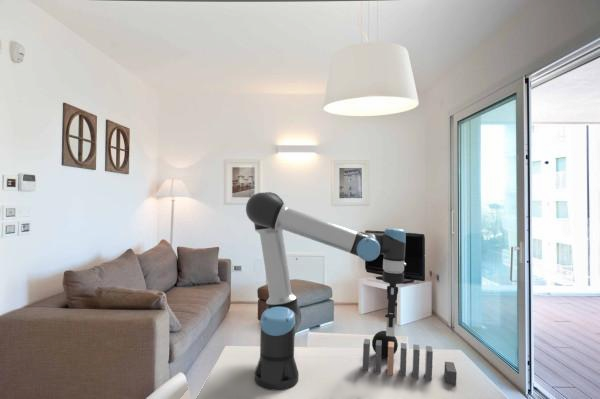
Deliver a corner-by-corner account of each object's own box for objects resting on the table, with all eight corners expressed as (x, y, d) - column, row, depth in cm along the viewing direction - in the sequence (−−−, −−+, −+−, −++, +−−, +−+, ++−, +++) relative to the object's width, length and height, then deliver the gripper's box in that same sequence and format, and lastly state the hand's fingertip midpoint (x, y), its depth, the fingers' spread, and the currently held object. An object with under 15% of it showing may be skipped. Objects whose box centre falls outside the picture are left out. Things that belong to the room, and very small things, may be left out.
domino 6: (425, 379, 138) (426, 351, 138) (425, 373, 143) (425, 345, 143) (431, 380, 138) (432, 351, 138) (430, 373, 143) (431, 346, 143)
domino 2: (374, 372, 143) (375, 345, 143) (375, 366, 148) (376, 340, 147) (380, 373, 142) (381, 345, 142) (381, 367, 147) (382, 340, 147)
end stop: (446, 384, 135) (447, 371, 135) (444, 373, 143) (444, 361, 143) (456, 385, 135) (456, 372, 135) (453, 374, 142) (453, 362, 142)
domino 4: (400, 375, 141) (400, 348, 140) (400, 369, 146) (400, 342, 145) (405, 376, 140) (406, 348, 140) (405, 370, 145) (406, 343, 145)
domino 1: (362, 370, 144) (363, 343, 144) (363, 365, 149) (364, 338, 149) (368, 371, 143) (368, 344, 143) (369, 365, 148) (370, 339, 148)
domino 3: (387, 374, 142) (388, 346, 142) (387, 368, 147) (388, 341, 146) (393, 374, 141) (393, 347, 141) (393, 368, 146) (394, 342, 146)
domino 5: (412, 377, 140) (413, 349, 139) (412, 371, 144) (413, 344, 144) (418, 378, 139) (419, 350, 139) (418, 372, 144) (419, 344, 144)
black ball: (400, 354, 159) (401, 330, 159) (393, 364, 150) (393, 338, 150) (376, 349, 164) (377, 325, 164) (368, 357, 155) (368, 332, 155)
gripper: (404, 279, 130) (401, 343, 131) (403, 266, 154) (401, 319, 155) (381, 277, 132) (378, 340, 132) (384, 264, 156) (381, 317, 157)
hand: (390, 329), depth 144 cm, fingers open, 13 cm apart
